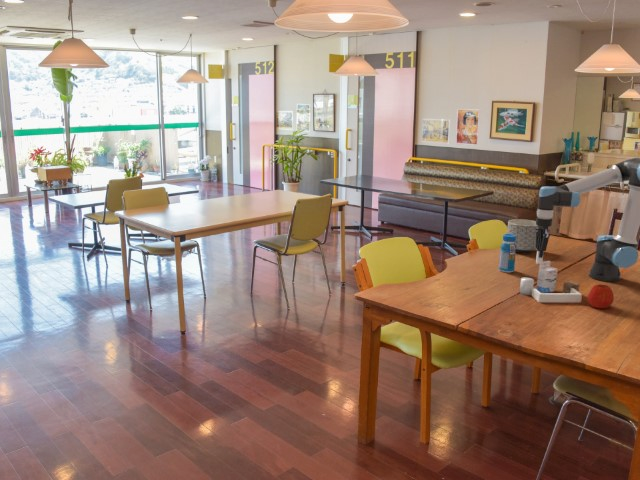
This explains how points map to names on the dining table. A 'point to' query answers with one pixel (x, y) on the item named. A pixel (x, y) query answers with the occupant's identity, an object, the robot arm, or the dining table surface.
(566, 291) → the grey-brown cube
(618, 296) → the dining table surface
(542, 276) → the ink box
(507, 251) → the beverage bottle
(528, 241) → the planter
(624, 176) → the robot arm
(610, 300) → the apple
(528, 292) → the glossy white capsule
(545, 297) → the display bracket
